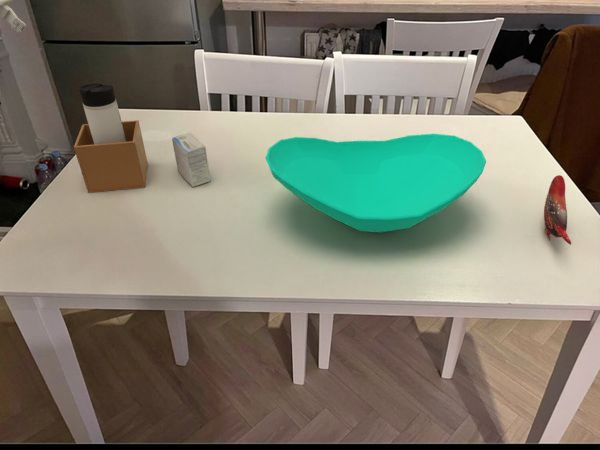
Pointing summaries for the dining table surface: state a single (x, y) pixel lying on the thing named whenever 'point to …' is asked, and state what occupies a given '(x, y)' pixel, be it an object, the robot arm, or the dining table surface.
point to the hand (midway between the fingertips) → (11, 36)
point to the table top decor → (377, 177)
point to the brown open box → (112, 160)
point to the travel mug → (102, 113)
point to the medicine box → (191, 159)
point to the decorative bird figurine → (556, 210)
